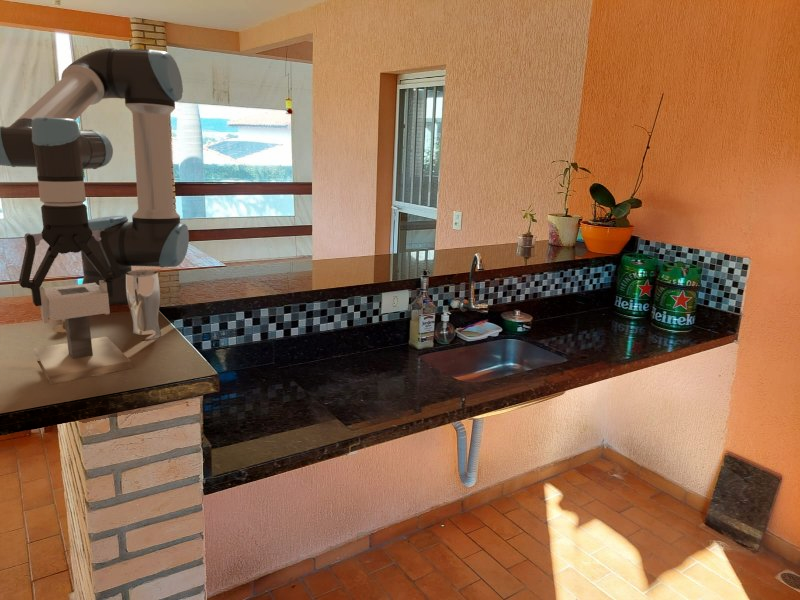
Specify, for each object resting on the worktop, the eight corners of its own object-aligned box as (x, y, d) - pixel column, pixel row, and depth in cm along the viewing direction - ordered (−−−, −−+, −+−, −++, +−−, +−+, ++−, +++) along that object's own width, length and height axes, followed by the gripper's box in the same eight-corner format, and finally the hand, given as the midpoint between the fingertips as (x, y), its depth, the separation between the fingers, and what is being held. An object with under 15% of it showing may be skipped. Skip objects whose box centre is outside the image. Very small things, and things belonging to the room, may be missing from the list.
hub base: (107, 342, 130) (103, 301, 127) (131, 368, 116) (127, 322, 114) (33, 355, 121) (27, 311, 119) (50, 384, 108) (44, 334, 105)
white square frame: (97, 301, 123) (95, 282, 122) (109, 312, 115) (107, 293, 114) (41, 308, 117) (39, 288, 116) (51, 320, 109) (49, 300, 108)
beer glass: (168, 337, 135) (164, 273, 131) (138, 343, 130) (132, 277, 126) (154, 330, 139) (150, 268, 135) (124, 336, 134) (119, 272, 130)
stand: (84, 327, 140) (80, 294, 137) (91, 334, 134) (87, 301, 132) (50, 332, 135) (46, 298, 133) (56, 340, 130) (52, 305, 128)
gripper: (122, 199, 120) (131, 304, 126) (-12, 203, 106) (5, 321, 112) (133, 203, 115) (142, 312, 120) (-7, 208, 101) (11, 331, 106)
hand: (76, 316), depth 116 cm, fingers closed on white square frame, 10 cm apart
